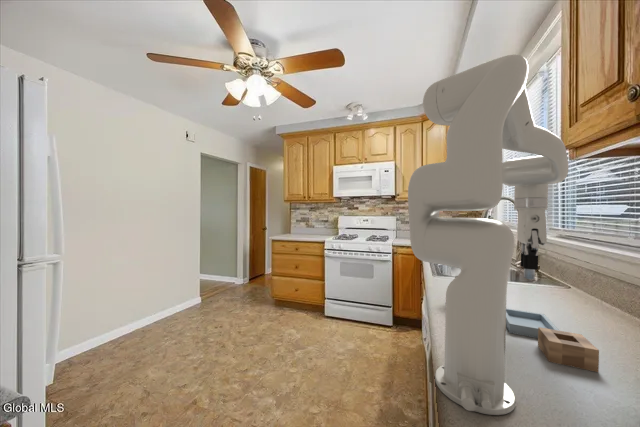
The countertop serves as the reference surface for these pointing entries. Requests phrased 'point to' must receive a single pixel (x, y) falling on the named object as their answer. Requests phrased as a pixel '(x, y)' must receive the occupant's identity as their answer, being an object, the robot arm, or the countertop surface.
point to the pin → (529, 273)
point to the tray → (527, 322)
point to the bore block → (568, 349)
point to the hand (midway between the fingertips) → (528, 267)
